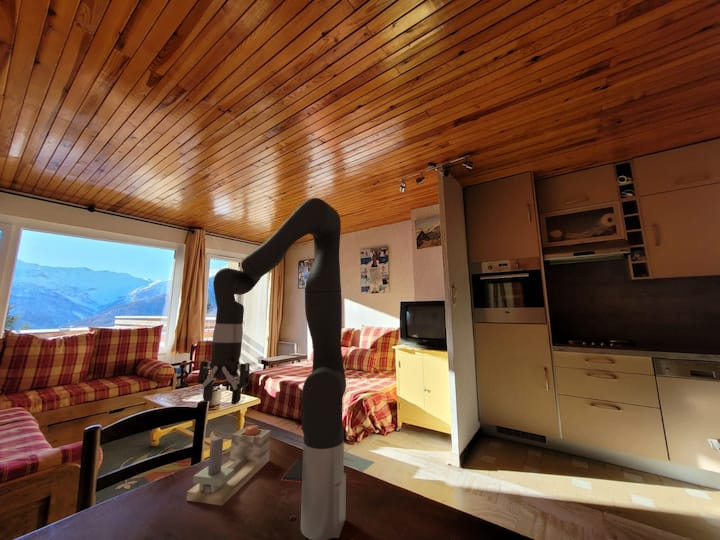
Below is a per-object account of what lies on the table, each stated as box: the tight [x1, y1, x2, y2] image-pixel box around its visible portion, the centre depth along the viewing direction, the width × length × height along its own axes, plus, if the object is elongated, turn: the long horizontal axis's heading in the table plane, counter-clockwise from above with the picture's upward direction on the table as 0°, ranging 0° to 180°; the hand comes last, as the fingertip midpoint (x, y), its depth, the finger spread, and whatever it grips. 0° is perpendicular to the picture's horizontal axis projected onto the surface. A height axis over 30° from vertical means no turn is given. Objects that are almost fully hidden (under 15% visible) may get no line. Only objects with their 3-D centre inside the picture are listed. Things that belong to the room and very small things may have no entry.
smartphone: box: [280, 456, 303, 484], centre depth 87 cm, size 7×1×14 cm
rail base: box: [186, 427, 272, 506], centre depth 82 cm, size 10×23×9 cm, turn 169°
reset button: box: [244, 424, 260, 436], centre depth 91 cm, size 4×4×3 cm
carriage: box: [192, 436, 234, 492], centre depth 75 cm, size 8×5×11 cm, turn 79°
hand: (220, 402), depth 77 cm, fingers open, 8 cm apart
